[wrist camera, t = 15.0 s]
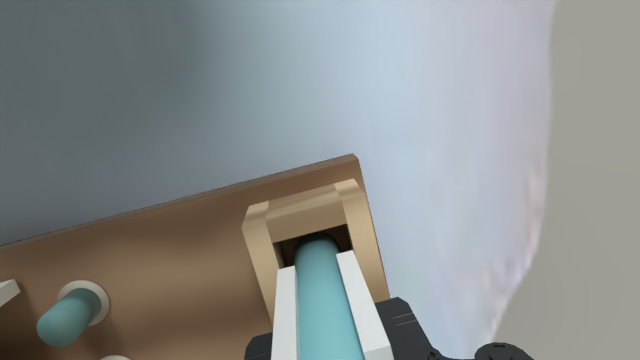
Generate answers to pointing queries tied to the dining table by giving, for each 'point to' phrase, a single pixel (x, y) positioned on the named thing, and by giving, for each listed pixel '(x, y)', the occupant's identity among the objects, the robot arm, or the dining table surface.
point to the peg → (324, 302)
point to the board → (181, 270)
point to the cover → (8, 291)
